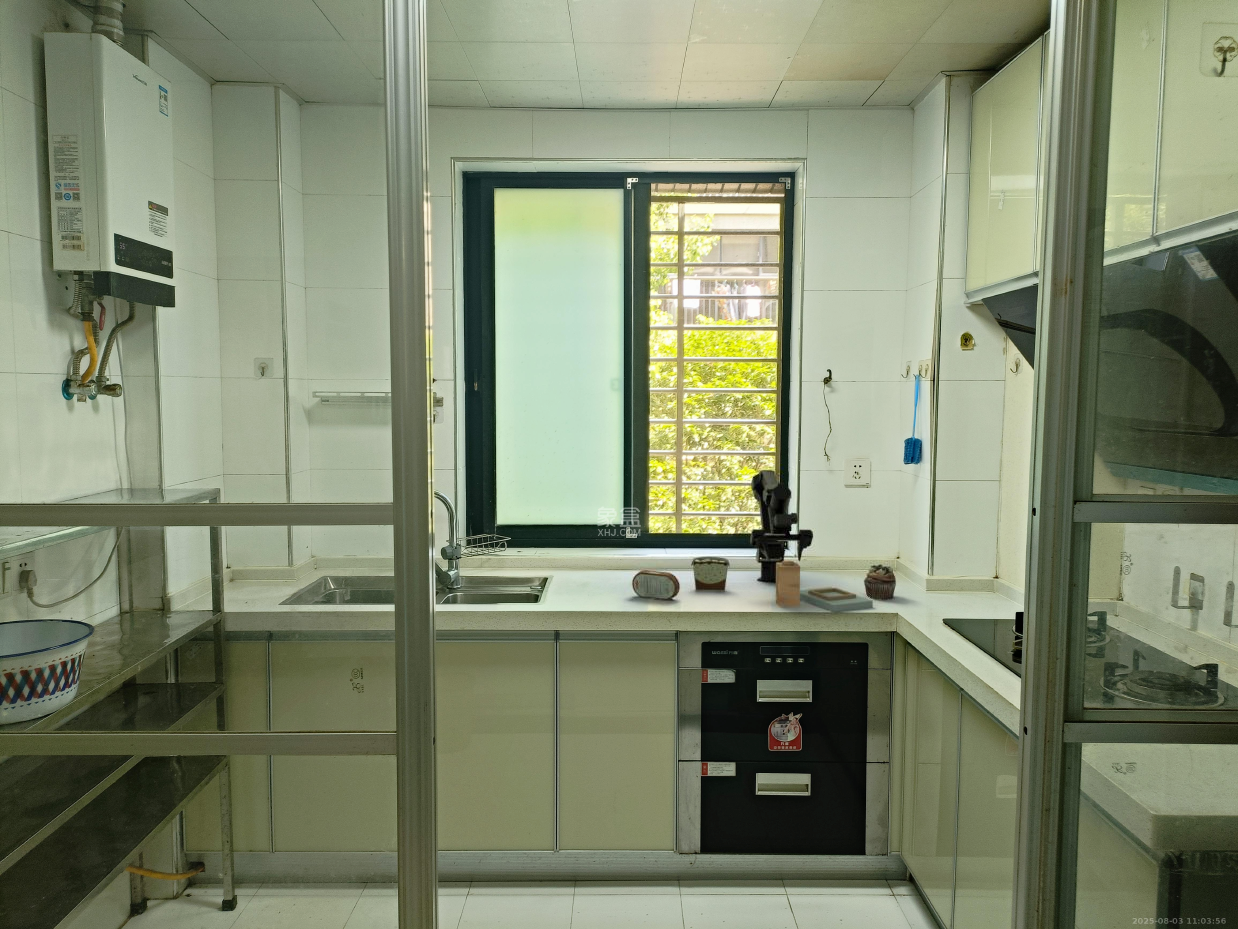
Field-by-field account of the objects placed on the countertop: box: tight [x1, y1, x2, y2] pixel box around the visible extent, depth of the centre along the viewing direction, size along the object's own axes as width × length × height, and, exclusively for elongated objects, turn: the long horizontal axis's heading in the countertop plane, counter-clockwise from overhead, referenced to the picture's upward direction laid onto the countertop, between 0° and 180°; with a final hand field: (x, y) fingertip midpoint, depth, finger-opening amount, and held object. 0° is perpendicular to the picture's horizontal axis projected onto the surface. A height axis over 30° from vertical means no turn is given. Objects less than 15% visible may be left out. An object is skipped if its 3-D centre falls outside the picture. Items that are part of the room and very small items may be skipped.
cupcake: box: [863, 563, 897, 601], centre depth 257 cm, size 10×10×10 cm
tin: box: [631, 569, 681, 601], centre depth 254 cm, size 15×3×8 cm, turn 65°
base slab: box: [800, 586, 874, 613], centre depth 250 cm, size 20×14×3 cm
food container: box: [690, 556, 731, 592], centre depth 268 cm, size 12×6×10 cm, turn 84°
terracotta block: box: [775, 560, 801, 608], centre depth 247 cm, size 6×6×13 cm
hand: (784, 560), depth 252 cm, fingers open, 9 cm apart
